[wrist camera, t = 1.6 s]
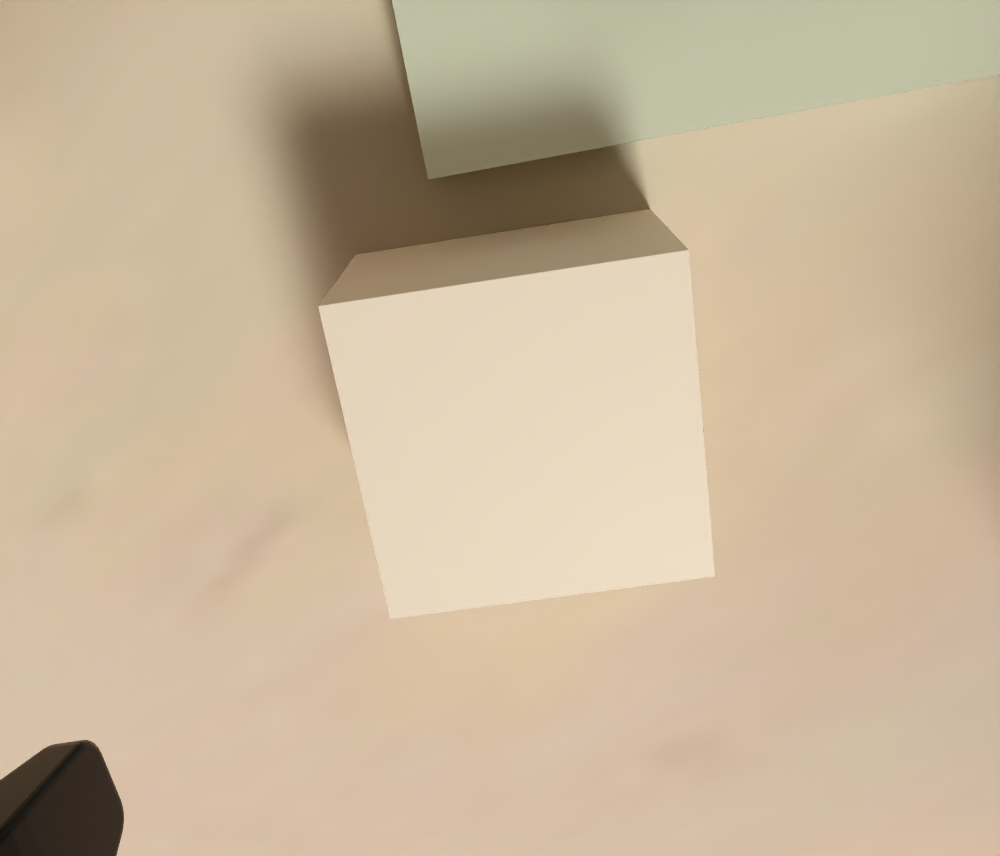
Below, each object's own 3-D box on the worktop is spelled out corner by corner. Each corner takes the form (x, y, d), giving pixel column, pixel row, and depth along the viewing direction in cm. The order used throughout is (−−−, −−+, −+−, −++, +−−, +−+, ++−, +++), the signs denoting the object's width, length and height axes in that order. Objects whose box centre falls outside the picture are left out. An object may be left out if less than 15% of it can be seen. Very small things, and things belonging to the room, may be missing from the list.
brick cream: (674, 476, 19) (715, 576, 16) (411, 512, 20) (390, 618, 16) (648, 207, 17) (688, 249, 14) (356, 252, 18) (318, 306, 14)
